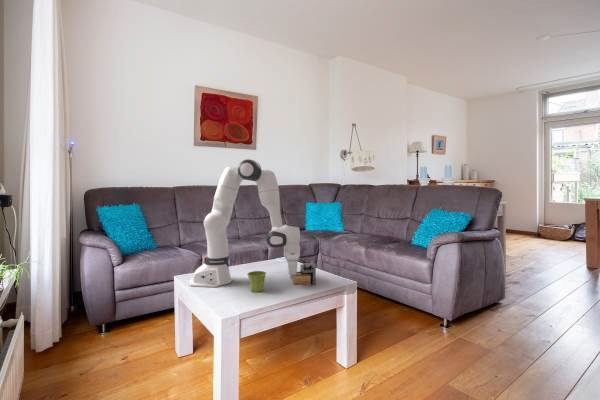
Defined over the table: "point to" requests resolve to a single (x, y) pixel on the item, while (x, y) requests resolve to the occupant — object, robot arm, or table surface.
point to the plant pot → (256, 280)
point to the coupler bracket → (309, 270)
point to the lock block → (302, 278)
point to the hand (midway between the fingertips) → (291, 278)
